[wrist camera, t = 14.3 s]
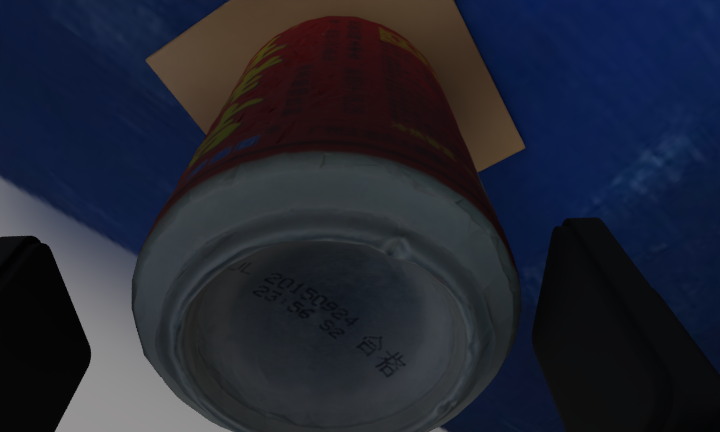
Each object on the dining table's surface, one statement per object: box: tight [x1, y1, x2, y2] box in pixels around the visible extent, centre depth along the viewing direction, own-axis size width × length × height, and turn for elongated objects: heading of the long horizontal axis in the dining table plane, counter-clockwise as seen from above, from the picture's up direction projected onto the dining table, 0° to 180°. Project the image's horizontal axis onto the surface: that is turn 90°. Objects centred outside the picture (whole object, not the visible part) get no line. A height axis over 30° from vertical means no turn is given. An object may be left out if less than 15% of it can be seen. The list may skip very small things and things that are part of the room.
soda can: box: [132, 16, 521, 432], centre depth 14 cm, size 7×7×12 cm
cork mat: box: [146, 0, 525, 172], centre depth 20 cm, size 10×10×1 cm
